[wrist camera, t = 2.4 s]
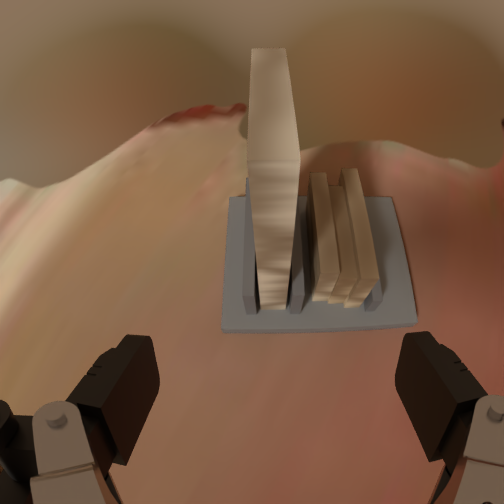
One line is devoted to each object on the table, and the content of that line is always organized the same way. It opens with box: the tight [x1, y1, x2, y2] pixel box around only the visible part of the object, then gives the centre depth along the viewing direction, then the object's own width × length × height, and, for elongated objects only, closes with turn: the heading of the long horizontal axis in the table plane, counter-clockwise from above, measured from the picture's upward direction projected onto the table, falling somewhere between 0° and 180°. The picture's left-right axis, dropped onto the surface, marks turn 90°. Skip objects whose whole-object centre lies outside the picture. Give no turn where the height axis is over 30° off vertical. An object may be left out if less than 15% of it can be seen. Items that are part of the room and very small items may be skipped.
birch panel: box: [247, 48, 301, 310], centre depth 26 cm, size 2×12×20 cm, turn 179°
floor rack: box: [221, 178, 418, 333], centre depth 33 cm, size 20×16×6 cm
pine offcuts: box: [305, 168, 379, 308], centre depth 31 cm, size 5×12×7 cm, turn 179°
